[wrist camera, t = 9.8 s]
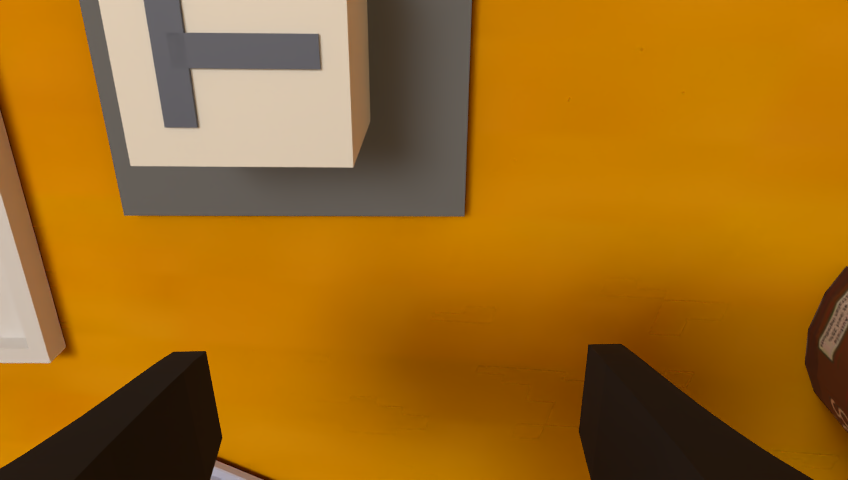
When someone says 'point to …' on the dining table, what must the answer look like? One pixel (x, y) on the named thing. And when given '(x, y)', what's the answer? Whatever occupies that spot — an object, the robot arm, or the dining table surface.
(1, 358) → the sorting tray
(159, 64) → the letter cube
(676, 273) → the dining table surface
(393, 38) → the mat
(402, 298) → the dining table surface
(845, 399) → the food container
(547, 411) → the dining table surface
